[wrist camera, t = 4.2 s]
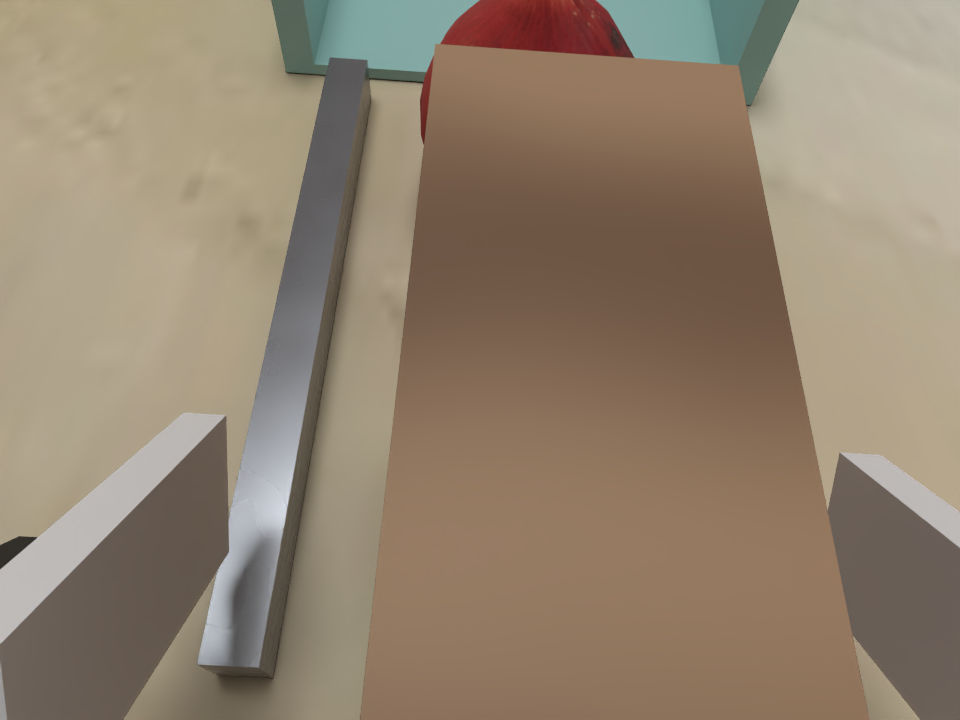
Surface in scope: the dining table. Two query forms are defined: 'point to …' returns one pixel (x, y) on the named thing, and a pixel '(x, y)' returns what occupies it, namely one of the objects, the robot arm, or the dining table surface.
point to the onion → (533, 31)
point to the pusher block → (600, 415)
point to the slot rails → (289, 392)
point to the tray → (439, 3)
